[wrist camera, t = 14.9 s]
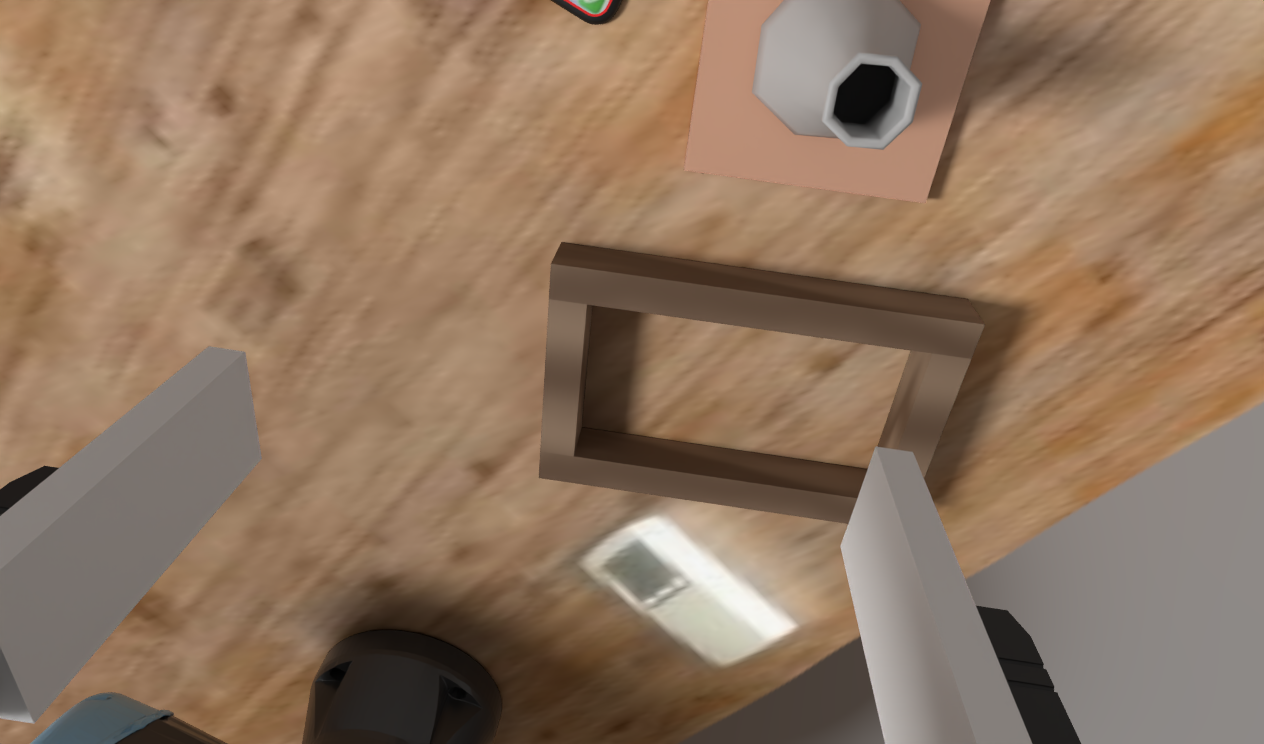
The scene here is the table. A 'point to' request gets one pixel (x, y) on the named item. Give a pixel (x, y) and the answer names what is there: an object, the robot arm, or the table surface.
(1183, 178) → the table surface
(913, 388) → the block
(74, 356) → the table surface
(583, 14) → the smartphone
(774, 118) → the terracotta tile
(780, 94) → the flask
